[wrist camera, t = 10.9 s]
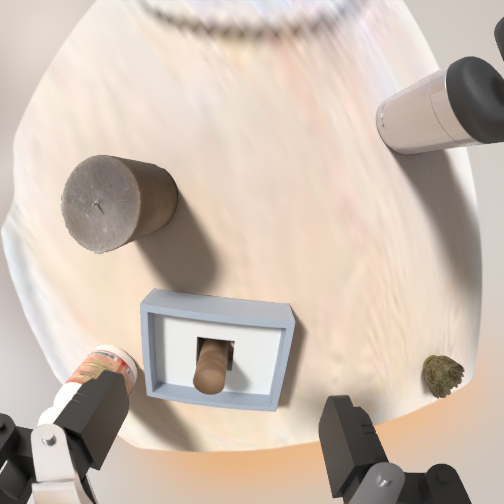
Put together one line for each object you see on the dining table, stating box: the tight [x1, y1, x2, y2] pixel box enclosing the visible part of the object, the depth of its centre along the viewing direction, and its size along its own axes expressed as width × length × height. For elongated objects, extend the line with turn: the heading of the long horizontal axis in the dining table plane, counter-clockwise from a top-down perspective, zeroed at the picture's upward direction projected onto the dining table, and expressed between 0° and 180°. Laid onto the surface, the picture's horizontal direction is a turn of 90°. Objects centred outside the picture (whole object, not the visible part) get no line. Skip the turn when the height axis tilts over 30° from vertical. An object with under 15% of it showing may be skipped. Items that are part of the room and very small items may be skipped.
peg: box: [193, 338, 229, 395], centre depth 37 cm, size 4×4×10 cm
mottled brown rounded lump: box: [424, 355, 464, 399], centre depth 41 cm, size 8×7×8 cm
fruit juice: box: [38, 345, 137, 426], centre depth 30 cm, size 9×9×28 cm
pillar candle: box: [61, 155, 178, 254], centre depth 30 cm, size 10×10×15 cm
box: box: [140, 289, 296, 411], centre depth 39 cm, size 20×16×6 cm
